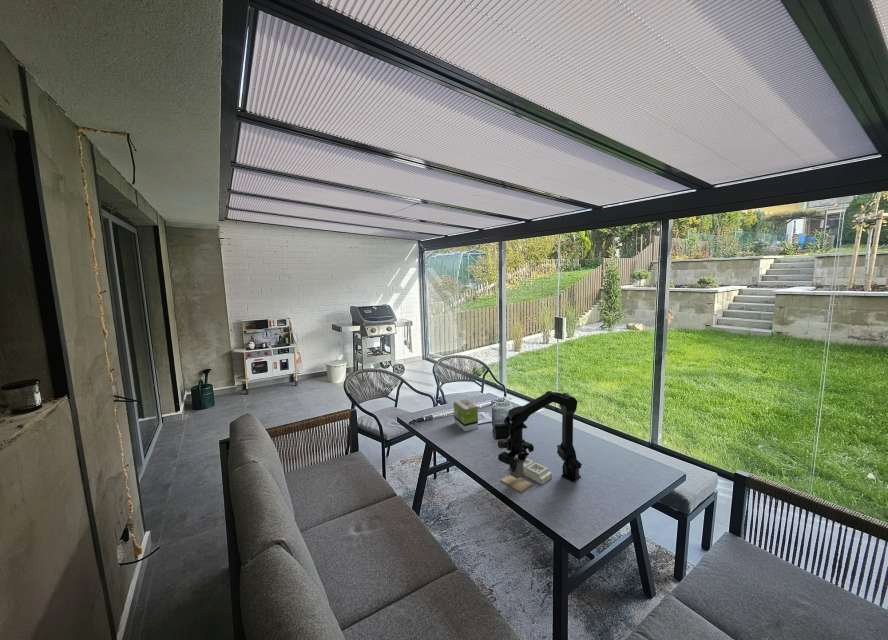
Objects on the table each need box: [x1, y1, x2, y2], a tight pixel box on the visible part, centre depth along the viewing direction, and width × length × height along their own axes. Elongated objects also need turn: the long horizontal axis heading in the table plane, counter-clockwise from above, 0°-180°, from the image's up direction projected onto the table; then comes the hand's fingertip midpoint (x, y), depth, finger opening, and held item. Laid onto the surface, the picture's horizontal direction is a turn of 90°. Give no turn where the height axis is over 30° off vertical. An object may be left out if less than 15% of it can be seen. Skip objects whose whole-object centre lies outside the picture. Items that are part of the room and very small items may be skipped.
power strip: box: [523, 457, 553, 485], centre depth 164 cm, size 19×8×4 cm, turn 39°
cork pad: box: [500, 473, 534, 494], centre depth 156 cm, size 12×8×1 cm, turn 39°
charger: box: [508, 456, 524, 479], centre depth 155 cm, size 4×4×7 cm
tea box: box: [453, 399, 479, 432], centre depth 218 cm, size 15×10×15 cm
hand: (516, 469), depth 155 cm, fingers closed on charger, 4 cm apart
